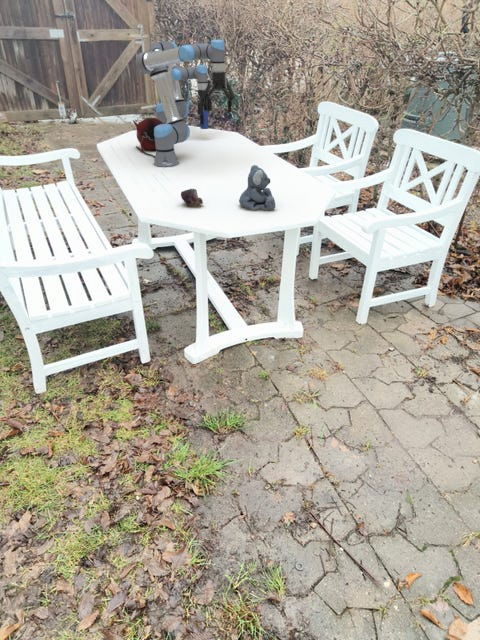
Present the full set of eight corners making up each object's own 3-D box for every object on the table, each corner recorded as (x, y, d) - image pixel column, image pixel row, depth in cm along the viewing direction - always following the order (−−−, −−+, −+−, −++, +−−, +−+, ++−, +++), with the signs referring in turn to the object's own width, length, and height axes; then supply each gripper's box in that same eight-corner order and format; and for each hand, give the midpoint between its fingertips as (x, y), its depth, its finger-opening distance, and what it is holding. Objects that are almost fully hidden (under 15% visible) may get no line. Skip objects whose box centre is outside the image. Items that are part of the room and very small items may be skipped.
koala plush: (276, 211, 223) (277, 171, 212) (240, 212, 222) (240, 172, 211) (271, 199, 237) (272, 161, 226) (237, 200, 236) (237, 162, 225)
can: (209, 128, 341) (209, 111, 334) (201, 129, 339) (201, 111, 332) (207, 127, 346) (206, 109, 339) (199, 127, 344) (198, 110, 337)
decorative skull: (136, 123, 331) (129, 120, 308) (167, 116, 330) (163, 112, 307) (144, 153, 338) (138, 152, 315) (174, 146, 337) (171, 145, 314)
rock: (196, 202, 238) (178, 205, 233) (194, 185, 234) (176, 188, 230) (205, 205, 228) (187, 208, 224) (203, 188, 224) (185, 191, 220)
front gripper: (240, 71, 255) (241, 112, 267) (203, 69, 265) (205, 109, 277) (234, 73, 250) (235, 114, 262) (196, 71, 259) (198, 111, 272)
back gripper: (200, 91, 319) (202, 126, 332) (213, 87, 333) (214, 121, 346) (191, 90, 322) (193, 125, 335) (204, 87, 336) (206, 120, 349)
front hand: (219, 111), depth 269 cm, fingers open, 13 cm apart
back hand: (204, 123), depth 340 cm, fingers closed on can, 6 cm apart
